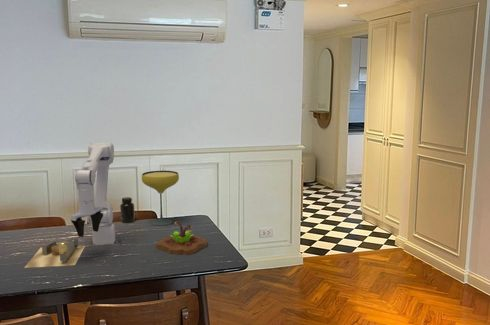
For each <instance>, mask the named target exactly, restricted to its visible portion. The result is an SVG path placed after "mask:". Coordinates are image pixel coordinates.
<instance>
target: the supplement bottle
mask: <svg viewBox="0 0 490 325" xmlns="http://www.w3.org/2000/svg"><path fill="white" fill-rule="evenodd" d="M132 200H133V198H132V197H130V196H129V197H128V196H127V197H126V196H125V197H122V198H121V204H120V206H119V208H120V210H119V211H120V221H121V223H124V224H127V223H128V224H130V223H133V222H135V220H136V218H135V217H136V215H135V204H134V203H133V202H132Z"/></svg>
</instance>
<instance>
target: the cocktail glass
mask: <svg viewBox="0 0 490 325" xmlns="http://www.w3.org/2000/svg"><path fill="white" fill-rule="evenodd" d="M179 179H180V176H179V172H178V171H175V170H154V171H153V170H151V171H150V170H149V171H146V172H143V173H142V174H141V182H142V183H143V185H145V186H147V187H149V188H150V189H151V188H152V189H153V190H156V192H157V193H158V194H159V195H160V196H159V198H160V204H159V205H160V215H159V216H160V218H158V219H154V220H152V221H150V224H151V225H152V226H160V227H161V226H163V227H164V226H168V225H171V224H173V220H171V219H167V218H164V217H163V204H162V201H163V200H162V199H163V198H162V194H163V193H164V192H165V191H166V190H167V189H170V188H171V187H172V186H174V185H176V184H177V183H178V181H179Z"/></svg>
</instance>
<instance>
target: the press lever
mask: <svg viewBox="0 0 490 325" xmlns="http://www.w3.org/2000/svg"><path fill="white" fill-rule="evenodd" d="M57 245H59V254H60V261H66V260H67V259H68V257H69V256H70V255H71V253H72V252H73V250H74V249H75V248H76V247H78V246H79V239H78V238H76V237H72V238H69V239H68V241H65V240H63V241H60V242H58V244H57Z"/></svg>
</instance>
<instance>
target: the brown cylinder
mask: <svg viewBox="0 0 490 325" xmlns="http://www.w3.org/2000/svg"><path fill="white" fill-rule="evenodd" d="M52 255H54V256H57V255H60V254H59V245H58V244H56V245H55V246H52Z"/></svg>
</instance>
